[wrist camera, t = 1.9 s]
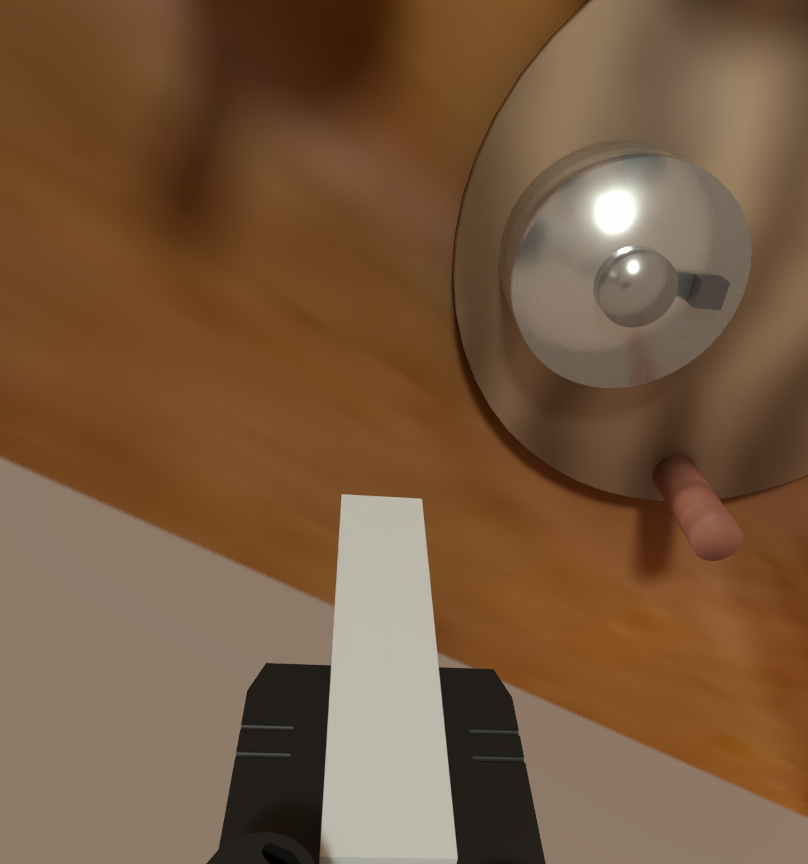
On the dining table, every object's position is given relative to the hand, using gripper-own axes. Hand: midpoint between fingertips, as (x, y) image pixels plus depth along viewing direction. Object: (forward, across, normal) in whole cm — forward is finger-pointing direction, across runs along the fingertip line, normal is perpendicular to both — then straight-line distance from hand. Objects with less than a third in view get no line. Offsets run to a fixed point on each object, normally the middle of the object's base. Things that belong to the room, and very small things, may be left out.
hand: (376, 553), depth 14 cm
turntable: (+24, +18, 0) cm, 30 cm away
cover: (+22, +11, 0) cm, 24 cm away
